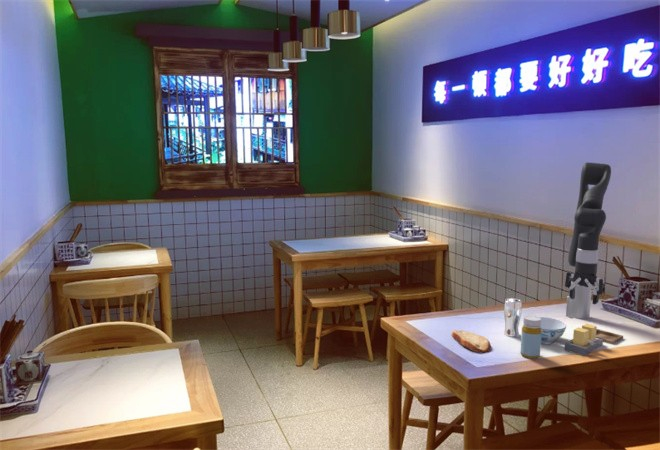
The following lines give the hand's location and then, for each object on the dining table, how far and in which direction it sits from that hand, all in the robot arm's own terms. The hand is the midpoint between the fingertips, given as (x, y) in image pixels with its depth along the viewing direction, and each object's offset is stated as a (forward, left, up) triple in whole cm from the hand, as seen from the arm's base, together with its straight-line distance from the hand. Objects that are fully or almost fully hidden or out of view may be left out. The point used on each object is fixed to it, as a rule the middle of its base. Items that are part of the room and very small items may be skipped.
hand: (583, 301), depth 208 cm
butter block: (0, 0, -20) cm, 19 cm away
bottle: (-10, -20, -20) cm, 30 cm away
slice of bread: (-33, -27, -21) cm, 47 cm away
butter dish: (0, +3, -20) cm, 20 cm away
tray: (+1, +19, -20) cm, 28 cm away
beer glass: (-27, -5, -20) cm, 34 cm away
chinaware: (-14, -1, -20) cm, 24 cm away
